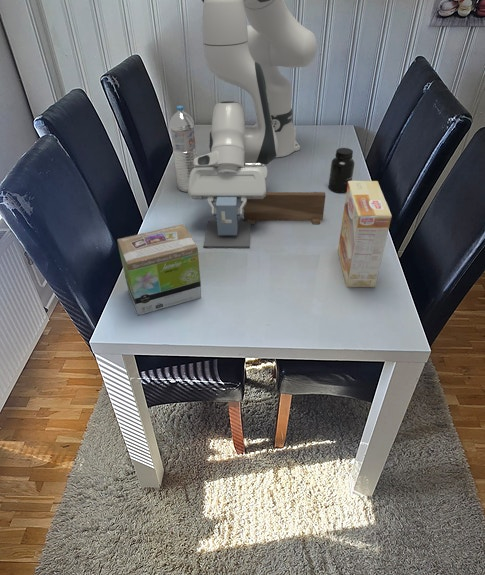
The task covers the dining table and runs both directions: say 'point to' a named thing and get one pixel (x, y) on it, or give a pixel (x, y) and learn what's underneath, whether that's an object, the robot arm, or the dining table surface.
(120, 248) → the tea box
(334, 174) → the supplement bottle
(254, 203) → the screen
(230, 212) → the letter block
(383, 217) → the coffeecake box
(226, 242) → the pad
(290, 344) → the dining table surface
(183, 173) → the water bottle
